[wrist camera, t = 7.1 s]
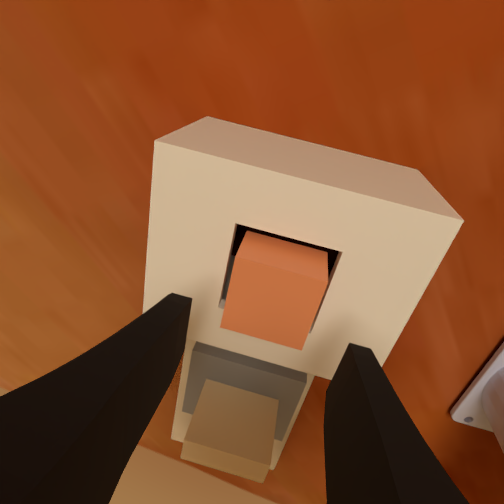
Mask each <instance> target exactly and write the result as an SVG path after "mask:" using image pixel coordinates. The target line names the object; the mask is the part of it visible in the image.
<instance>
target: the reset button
mask: <svg viewBox="0 0 504 504" xmlns="http://www.w3.org/2000/svg"><path fill="white" fill-rule="evenodd" d="M327 284H328V254H327V252H325V251H321V250H318V249H314V248H310V247H307V246H303V245H299V244H296V243H292V242H288V241H284V240H281V239H277V238H273V237H270V236H266V235H262V234H258V233H255V232H251V231H247V232H246V234H245V236H244V238H243V240H242V243H241V245H240V247H239V249H238V252H237V254H236V256H235V260H234V265H233V269H232V274H231V279H230V283H229V288H228V293H227V297H226V302H225V306H224V311H223V316H222V320H221V325H220V327H221V328H224V329H228V330H231V331H235V332H238V333H242V334H245V335H249V336H252V337H256V338H259V339H263V340H266V341H270V342H273V343H277V344H280V345H284V346H287V347H291V348H294V349H298V350H301V351H302V349H303V346H304V344H305V341H306V338H307V336H308V333H309V331H310V328H311V326H312V323H313V320H314V318H315V315H316V313H317V310H318V307H319V305H320V302H321V300H322V297H323V295H324V292H325V289H326V287H327Z"/></svg>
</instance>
